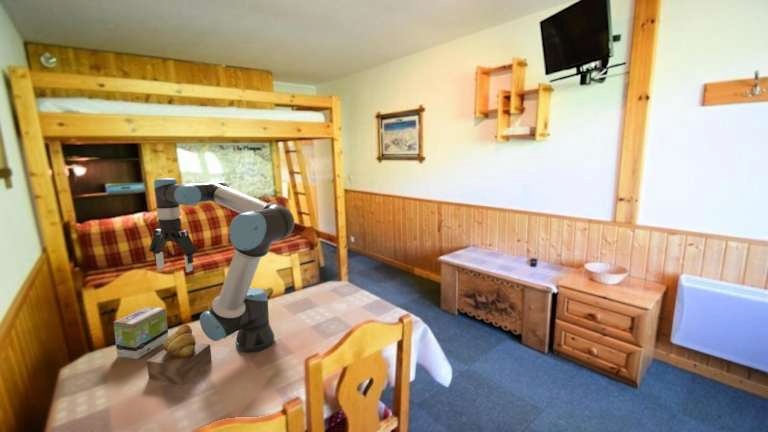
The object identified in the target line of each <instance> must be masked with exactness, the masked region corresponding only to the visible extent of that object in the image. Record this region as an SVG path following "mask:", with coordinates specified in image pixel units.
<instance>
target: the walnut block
mask: <svg viewBox="0 0 768 432" xmlns="http://www.w3.org/2000/svg"><path fill="white" fill-rule="evenodd" d="M195 342H196V344H195V351H194V352H193V354H192V355H190V356H187V357H179V356H176V357H174V356H170V355H169V354H168V353H167V351H165V350H164V349H163V350H161V351H160V352H158V353H157V354H155V355H154V356H151V357H150V358H149V359H147V360H146V365H147V367H146V368H147V374H148V380H153V381H159V382H164V383H170V384H177V385H182V386H183V385H185V384H186V383H187V382H189V380H191V379H192V378H193V377H195V375H197V374H198V373H199V372H201V371H202V370H203V369H204V368H205V367H206V366H208V365H209V364H210V363H211V362H212V350H211V344H210V343H205V342H197V341H195Z"/></svg>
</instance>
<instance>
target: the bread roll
mask: <svg viewBox="0 0 768 432" xmlns="http://www.w3.org/2000/svg"><path fill="white" fill-rule="evenodd" d="M196 342H197V341H196V338H195V335H194V334H193V330H192V327H191V326H190V325H188V324H181V325H180V326H179V327H178V329H177V330H175V332H174V333H172V334H171V335H168V338H166V340H164V343H163V344H162V345H163V346H162V348H163V350H165V351H167V353H168V354H169V355H170V356H174V357H176V356H179V357H187V356H190V355H192V354H193V352H194V351H195V344H196Z"/></svg>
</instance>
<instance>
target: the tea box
mask: <svg viewBox="0 0 768 432" xmlns="http://www.w3.org/2000/svg"><path fill="white" fill-rule="evenodd" d="M167 318H168V317H167V308H164V307H157V306H149V305H146V306H143V307H142V308H140V309H138V310H135V311H134V312H132V313H129V314H128V315H125V316H123V317H121V318H118V319H117V320H115V321H113V329H114V339H115V340H114V341H115V348H116V349H115V351H116V355H117V357H120V358H125V359H133V360H139V359H140V358H141V357H143V356H145V355H146V354H147V353H149V352H151V351H153V350H154V349H156V348H158V347H159V346H161V345H164V340H166V338H168V337H169V329H168V328H169V327H168V319H167Z"/></svg>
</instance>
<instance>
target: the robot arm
mask: <svg viewBox="0 0 768 432" xmlns="http://www.w3.org/2000/svg"><path fill="white" fill-rule="evenodd" d="M153 184H154V185H153V186H154V187H153V190H154V198H155V203H156V213H157V218H158V221H157V222H158V228H156V229H154V230H153V237H152V241H151V243H150V247H149V249H148V251H149V252H151V253H153V255H154V260H155V262H156V270H162V269H164V268H165V260H164V253H163V251H162V250H163V248H164V247H165V246H166V244H167V243H168V242H172V243H175V244H176V245H177V246H178V247H179V248H180V249H181V251H182V252H183V253H184V264H185V265H184V266H185V272H186V273H189V272H191V271H193V270H194V268H193V267H194V265H193V263H194V255H195V254H197V253H198V250H197V248H196V246H195V244H194V242H193V240H192V239H191V237H190V235H189V231H188V230H187V229H186V230H185V229H184V230H181V227H182V219H181V211H180V205H181V206H185V207H186V206H194V205H197V204H200V203H209V202H213V203H216V204H218V205H220V206H223V207H225V208H227V209H229V210H232V211H234V212H236V213H239V214H237V215H236V216H235V217H234V218H233V220H232V221H231V222H230V226H229V229H228V234H229V240H230V242H231V244H232V247H233V249H234V253H233V255H232V258H231V260H230V261H231V262H230V264H229V267H228V270H227V274H226V276H225V279H224V282H223V284H222V287H221V290H220V292H219V295H218V296H216V297H215V298H214V299H213V300H212V303H211V306H210V308H209V309H208V310H205V311H204V312H202V313H201V314H200V316H199V325H200V328H201V329H202V331H203V334H204V335H205V336H206V337H207V338H208V339H210V340H211V341H213V342H218V341H220V340H223V339H226V338H227V337H229V336H230V335H232V334H234V333H236V332H237V335H236V338H235V348H236V350H237V351H239V352H240V353H245V354H253V353H258V352H259V353H260V352H262V351H265V350H266V349H268V348H270V347H271V346H272V345H274V343H275V332H274V331H273V329H272V327H271V324H270V316H269V314H270V313H269V299H268V293H267V291H266V290H264V289H263V288H257V287H251V284H252V282H253V279H254V277H255V275H256V271H257V268H258V266H259V263H260V261H261V259H262V258H263V257H265V256H266V255H267V254H268V252H269V250H270V248H271V246H272V244H273V243H276V242H278V241H281V240H284V239H286V238H288V237H289V236H290V235H291V233H292V232H293V231H294V228H295V218H294V215H293V213H292V212H291V210H289V208H287V207H285V206H283V205H282V204H279V203H276V202H268V203H267V202H266V201H264V200H261V199H258V198H256V197H253V196H251V195H249V194H245V193H242V192H239V191H238V190H235V189H233V188H230V186H229V185H228V184H227V183H226V182H224V181H210V182H200V183H199V182H198V183H186V184H180V183H178V182H177V179H176V178H173V177H166V178H164V177H163V178H156V179H154V182H153ZM250 287H251V288H250Z"/></svg>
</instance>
